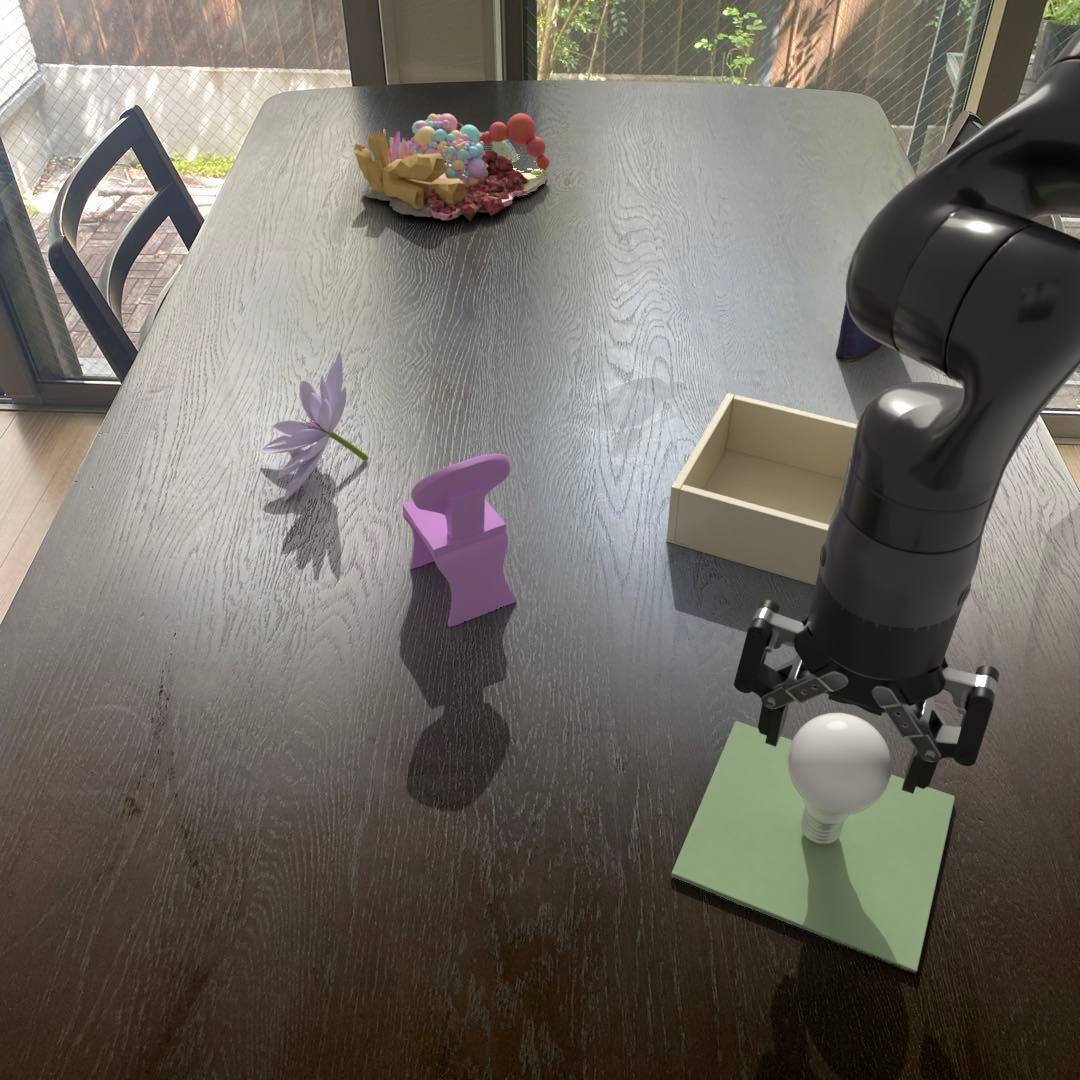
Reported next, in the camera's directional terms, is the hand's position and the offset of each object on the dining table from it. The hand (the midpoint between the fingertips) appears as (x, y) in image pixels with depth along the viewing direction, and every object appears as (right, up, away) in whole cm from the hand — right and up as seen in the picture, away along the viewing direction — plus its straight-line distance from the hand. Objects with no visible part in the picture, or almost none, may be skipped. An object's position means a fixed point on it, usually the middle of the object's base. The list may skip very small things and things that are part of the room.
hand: (840, 757), depth 68 cm
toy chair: (-26, +10, +25) cm, 37 cm away
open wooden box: (+3, +16, +31) cm, 35 cm away
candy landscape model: (-31, +64, +84) cm, 110 cm away
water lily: (-41, +21, +38) cm, 60 cm away
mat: (0, -7, +6) cm, 9 cm away
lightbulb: (0, -6, +6) cm, 9 cm away
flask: (+17, +35, +53) cm, 66 cm away
